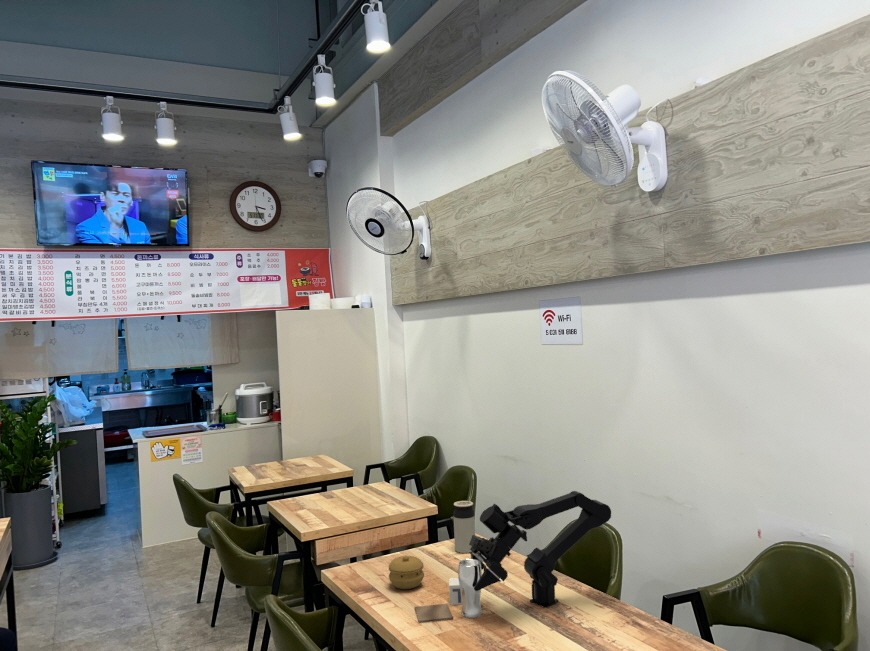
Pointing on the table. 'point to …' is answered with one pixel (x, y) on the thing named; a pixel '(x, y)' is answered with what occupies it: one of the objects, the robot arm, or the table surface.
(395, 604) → the table surface
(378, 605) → the table surface
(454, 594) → the letter block
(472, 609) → the beer glass
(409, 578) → the pot
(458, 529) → the travel mug
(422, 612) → the coaster
